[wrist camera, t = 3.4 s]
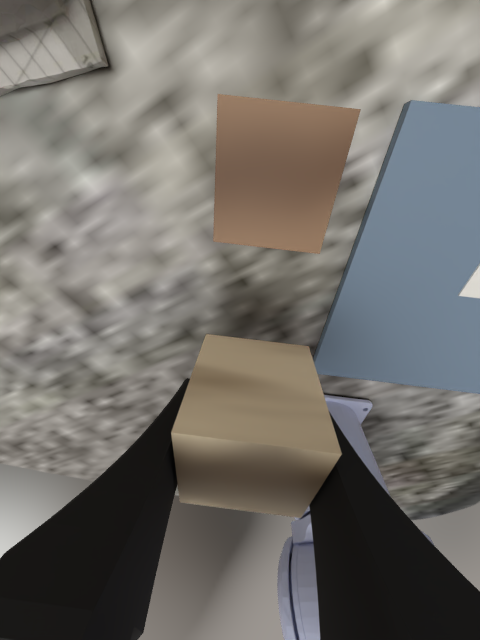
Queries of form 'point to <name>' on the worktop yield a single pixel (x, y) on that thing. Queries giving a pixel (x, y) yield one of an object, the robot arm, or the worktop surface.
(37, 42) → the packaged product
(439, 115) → the board
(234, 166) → the walnut block
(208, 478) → the maple block
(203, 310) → the worktop surface
